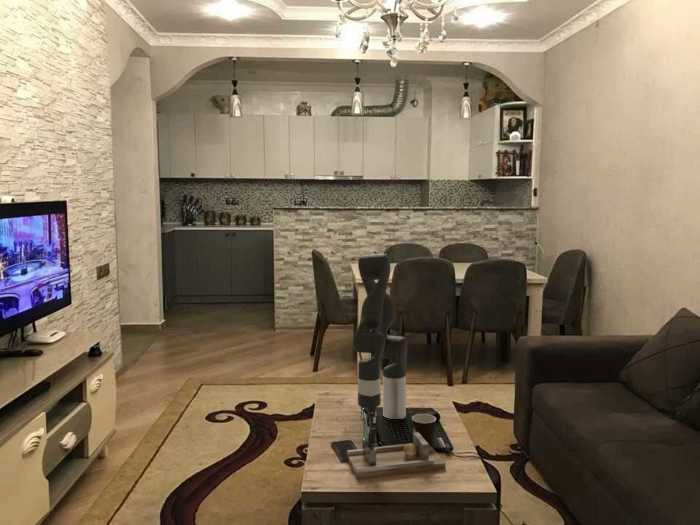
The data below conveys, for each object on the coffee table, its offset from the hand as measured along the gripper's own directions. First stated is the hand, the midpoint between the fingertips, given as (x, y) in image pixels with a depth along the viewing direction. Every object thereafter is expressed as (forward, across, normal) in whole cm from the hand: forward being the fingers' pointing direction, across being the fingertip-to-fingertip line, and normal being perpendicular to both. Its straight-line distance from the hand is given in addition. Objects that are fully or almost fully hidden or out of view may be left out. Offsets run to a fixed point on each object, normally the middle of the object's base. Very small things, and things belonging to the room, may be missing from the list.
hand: (369, 439), depth 198 cm
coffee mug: (+10, -13, +24) cm, 29 cm away
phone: (+10, -13, -5) cm, 17 cm away
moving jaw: (+7, 0, 0) cm, 7 cm away
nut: (+7, 0, +14) cm, 16 cm away
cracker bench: (+9, 0, +9) cm, 13 cm away
